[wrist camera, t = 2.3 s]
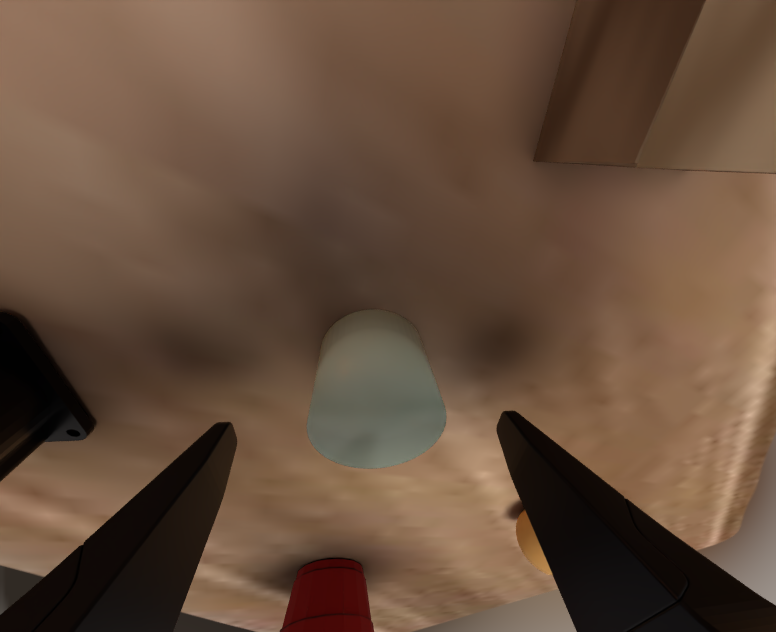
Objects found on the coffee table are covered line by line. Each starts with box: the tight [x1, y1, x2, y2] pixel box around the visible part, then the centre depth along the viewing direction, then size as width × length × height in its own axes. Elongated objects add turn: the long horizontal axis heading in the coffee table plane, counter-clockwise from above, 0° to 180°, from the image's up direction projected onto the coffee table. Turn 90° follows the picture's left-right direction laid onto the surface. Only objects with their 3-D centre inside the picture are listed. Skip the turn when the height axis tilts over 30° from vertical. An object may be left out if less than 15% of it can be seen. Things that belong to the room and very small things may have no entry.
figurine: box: [516, 510, 553, 575], centre depth 16 cm, size 8×6×12 cm
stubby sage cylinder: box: [307, 309, 446, 469], centre depth 11 cm, size 5×5×4 cm
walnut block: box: [533, 0, 776, 174], centre depth 6 cm, size 6×6×4 cm
